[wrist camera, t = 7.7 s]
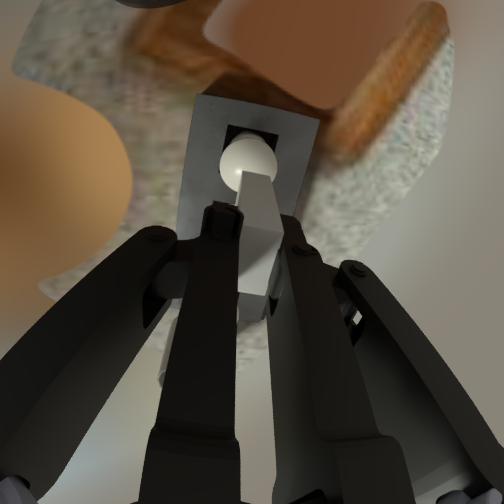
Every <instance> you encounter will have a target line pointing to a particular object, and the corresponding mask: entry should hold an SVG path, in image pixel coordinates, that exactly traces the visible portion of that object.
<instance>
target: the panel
mask: <svg viewBox="0 0 504 504" xmlns="http://www.w3.org/2000/svg"><path fill="white" fill-rule="evenodd" d="M319 122H320V120H319V119H316V118H314V117H310V116H307V115H303V114H299V113H295V112H291V111H287V110H283V109H279V108H275V107H271V106H266V105H262V104H257V103H252V102H247V101H242V100H237V99H231V98H225V97H219V96H213V95H207V94H196V99H195V104H194V109H193V115H192V120H191V126H190V132H189V137H188V143H187V150H186V156H185V162H184V169H183V176H182V183H181V191H180V198H179V206H178V215H177V224H176V234H177V237H178V240H188V239H194V238H196V237H198V236H200V232H201V226H202V220H203V213H204V209H205V208H206V207H207V206H210V205H212V204H213V203H214V201H219V202H225V203H230V204H235V203H236V198H237V193H238V192H236V191H234V190H232V189H231V188H230V187H229V186H227V184H226V183H225V182H224V180H223V179H222V177H221V173H220V160H221V157H222V154H223V150H224V145H225V140H226V136H227V131H228V126H229V125H234V126H240V127H245V128H250V129H255V130H259V131H264V132H269V133H273V134H275V138H274V142H273V146H272V151H273V153H274V155H275V157H276V160H277V173H276V176H275V178H274V180H273V182H272V185H273V189H274V193H275V197H276V201H277V205H278V209H279V213H280V214H284V215H289V216H293V214H294V210H295V207H296V204H297V200H298V197H299V193H300V190H301V186H302V183H303V180H304V176H305V173H306V169H307V165H308V162H309V158H310V155H311V151H312V148H313V144H314V140H315V137H316V133H317V130H318V126H319ZM268 294H269V286H268V287H267V290H266V294H265V296H262V295H256V294H249V293H243V292H238V300H237V305H238V307H239V320H246V321H253V322H260V320H261V316H262V313H263V310H264V307H265V304H266V300H267V297H268ZM182 299H183V298H180V299H173V300H172V303H171V305H170V308H175V309H180V307H181V303H182Z"/></svg>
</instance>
